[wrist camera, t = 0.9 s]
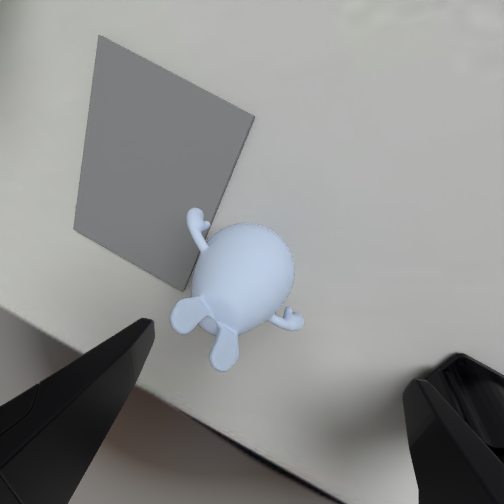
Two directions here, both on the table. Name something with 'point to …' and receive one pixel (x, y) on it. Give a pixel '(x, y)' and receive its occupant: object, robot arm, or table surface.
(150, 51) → the table surface
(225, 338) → the toy figure
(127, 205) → the mat
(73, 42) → the table surface
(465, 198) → the table surface
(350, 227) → the table surface
